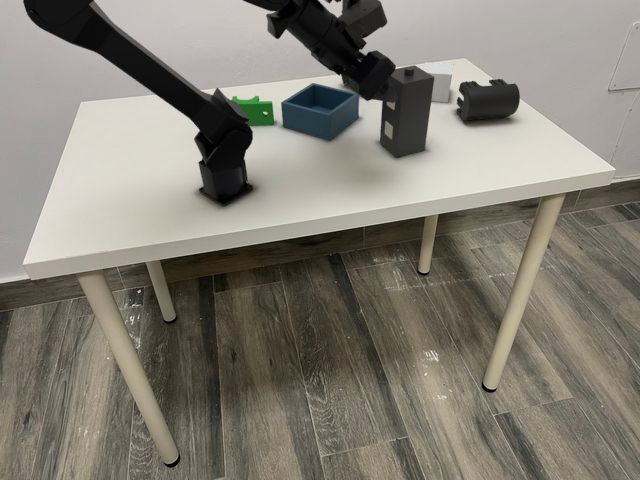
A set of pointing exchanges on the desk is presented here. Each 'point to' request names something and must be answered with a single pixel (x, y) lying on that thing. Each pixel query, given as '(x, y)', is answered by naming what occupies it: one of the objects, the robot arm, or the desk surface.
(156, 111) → the desk surface
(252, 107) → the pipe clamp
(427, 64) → the white cube
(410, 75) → the tower
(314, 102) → the compartment
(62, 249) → the desk surface
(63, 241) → the desk surface
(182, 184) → the desk surface
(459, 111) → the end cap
